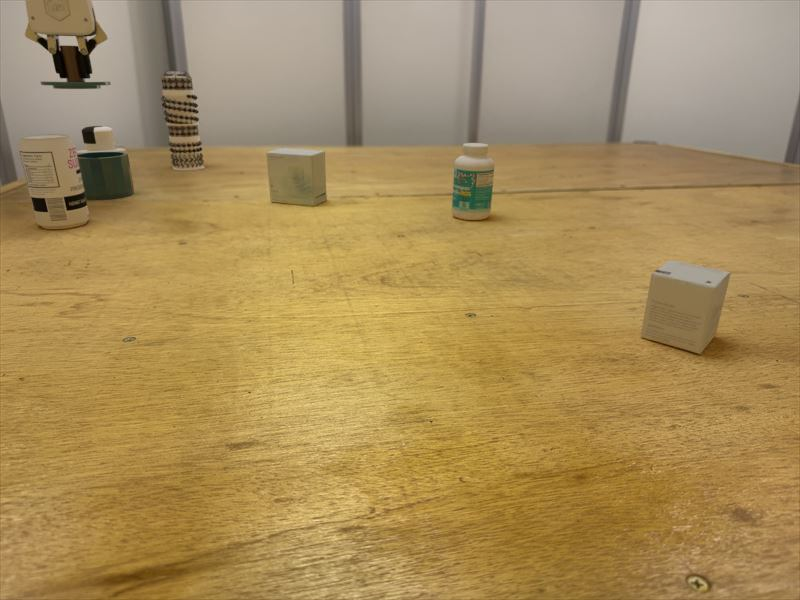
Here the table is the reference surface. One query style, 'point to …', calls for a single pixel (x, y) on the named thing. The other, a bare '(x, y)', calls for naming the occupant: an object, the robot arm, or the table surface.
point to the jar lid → (73, 72)
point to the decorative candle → (182, 120)
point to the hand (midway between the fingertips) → (75, 77)
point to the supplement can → (54, 180)
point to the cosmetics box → (297, 176)
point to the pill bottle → (473, 183)
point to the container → (99, 140)
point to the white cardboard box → (684, 305)
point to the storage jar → (105, 175)
